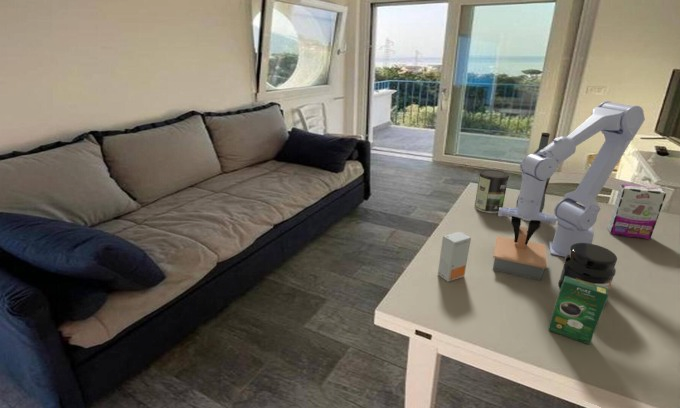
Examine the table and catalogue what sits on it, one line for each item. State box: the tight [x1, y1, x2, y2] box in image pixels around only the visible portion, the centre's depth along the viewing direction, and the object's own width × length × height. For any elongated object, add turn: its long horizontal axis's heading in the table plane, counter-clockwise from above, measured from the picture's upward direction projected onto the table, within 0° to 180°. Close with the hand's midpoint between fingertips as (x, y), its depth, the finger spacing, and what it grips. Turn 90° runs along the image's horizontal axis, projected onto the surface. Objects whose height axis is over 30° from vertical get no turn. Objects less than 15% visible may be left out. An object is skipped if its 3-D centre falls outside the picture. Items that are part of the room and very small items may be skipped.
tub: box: [492, 258, 545, 281], centre depth 106 cm, size 12×12×4 cm
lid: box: [492, 226, 548, 270], centre depth 104 cm, size 13×13×6 cm
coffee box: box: [548, 276, 609, 345], centre depth 78 cm, size 8×3×13 cm, turn 57°
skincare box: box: [437, 231, 472, 283], centre depth 99 cm, size 6×4×12 cm
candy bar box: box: [607, 183, 667, 241], centre depth 121 cm, size 11×5×16 cm, turn 68°
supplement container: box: [557, 243, 618, 292], centre depth 92 cm, size 10×10×12 cm
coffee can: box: [473, 168, 510, 214], centre depth 141 cm, size 10×10×14 cm
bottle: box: [515, 132, 551, 213], centre depth 133 cm, size 9×9×30 cm
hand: (520, 242), depth 108 cm, fingers closed on lid
